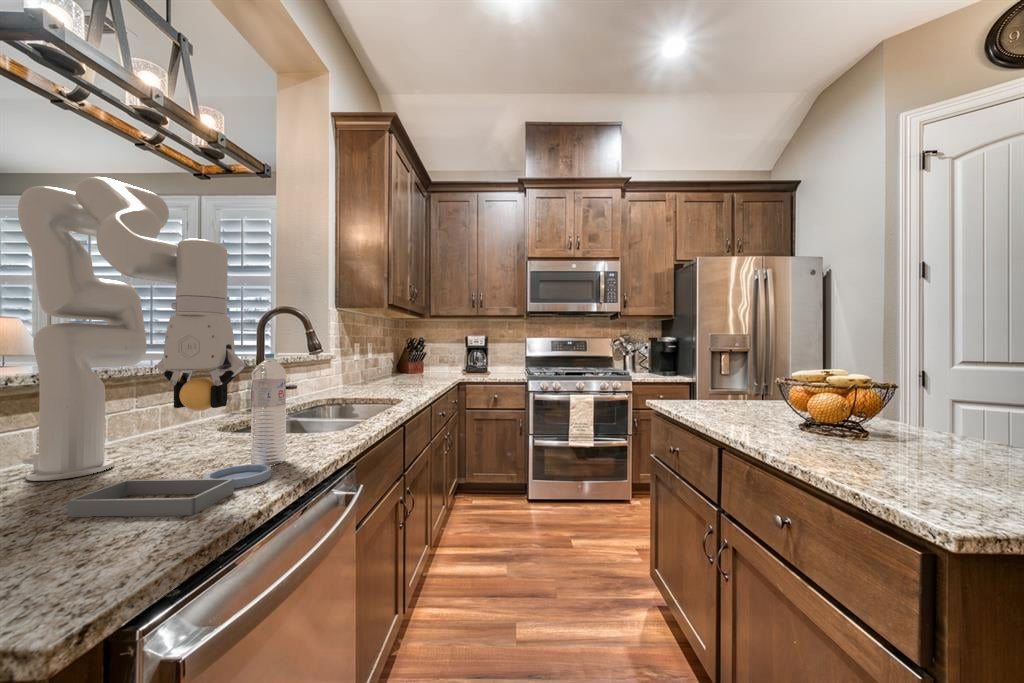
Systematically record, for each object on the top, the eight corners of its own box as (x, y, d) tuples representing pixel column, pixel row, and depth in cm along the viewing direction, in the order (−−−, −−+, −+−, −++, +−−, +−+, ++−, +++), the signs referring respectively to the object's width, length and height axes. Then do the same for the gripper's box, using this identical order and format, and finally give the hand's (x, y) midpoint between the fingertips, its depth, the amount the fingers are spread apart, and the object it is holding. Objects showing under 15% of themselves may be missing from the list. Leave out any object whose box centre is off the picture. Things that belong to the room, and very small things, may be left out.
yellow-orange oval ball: (169, 413, 71) (170, 378, 71) (196, 408, 77) (197, 376, 77) (204, 413, 71) (204, 378, 71) (228, 408, 77) (228, 376, 77)
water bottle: (269, 468, 88) (270, 353, 88) (242, 467, 89) (244, 353, 90) (292, 460, 95) (293, 353, 95) (267, 458, 96) (268, 353, 97)
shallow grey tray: (64, 517, 62) (65, 501, 62) (125, 494, 73) (126, 480, 73) (192, 515, 63) (192, 499, 63) (235, 492, 73) (235, 478, 73)
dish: (190, 490, 74) (190, 480, 74) (229, 472, 85) (229, 464, 85) (250, 489, 75) (250, 480, 75) (281, 471, 86) (281, 463, 86)
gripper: (136, 306, 71) (134, 410, 70) (234, 306, 71) (233, 410, 70) (172, 310, 78) (171, 404, 78) (261, 310, 78) (260, 404, 78)
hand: (200, 406), depth 74 cm, fingers closed on yellow-orange oval ball, 5 cm apart
